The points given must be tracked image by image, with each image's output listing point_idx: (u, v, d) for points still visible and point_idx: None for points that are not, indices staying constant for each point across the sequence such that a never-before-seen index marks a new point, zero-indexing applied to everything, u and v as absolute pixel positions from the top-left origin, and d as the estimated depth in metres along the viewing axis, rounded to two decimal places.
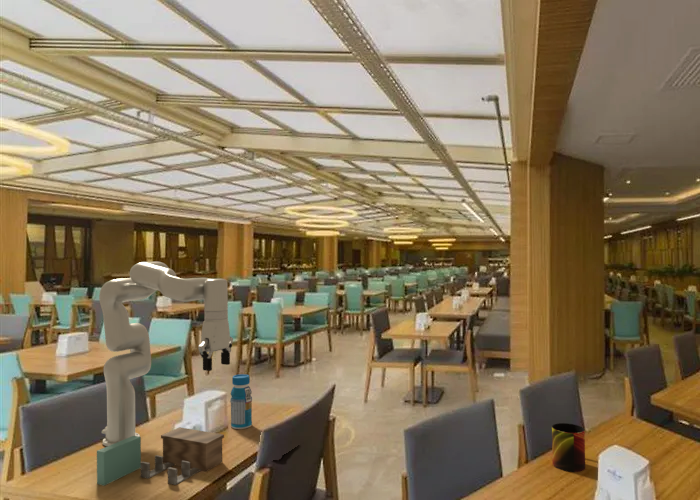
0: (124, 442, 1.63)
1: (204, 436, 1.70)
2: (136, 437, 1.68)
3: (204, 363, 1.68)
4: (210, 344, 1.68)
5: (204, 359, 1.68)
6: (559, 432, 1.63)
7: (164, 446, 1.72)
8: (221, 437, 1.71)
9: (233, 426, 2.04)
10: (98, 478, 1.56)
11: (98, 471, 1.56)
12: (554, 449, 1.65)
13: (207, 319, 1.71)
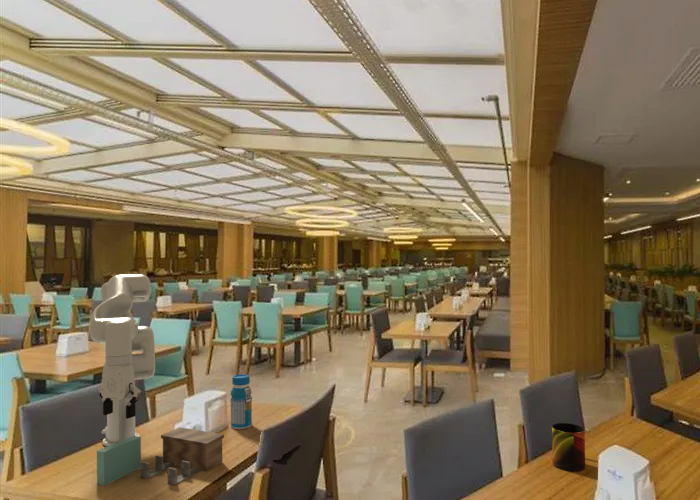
0: (124, 442, 1.63)
1: (204, 436, 1.70)
2: (136, 437, 1.68)
3: (131, 410, 1.59)
4: None
5: (132, 405, 1.59)
6: (559, 432, 1.63)
7: (164, 446, 1.72)
8: (221, 437, 1.71)
9: (233, 426, 2.04)
10: (98, 478, 1.56)
11: (98, 471, 1.56)
12: (554, 449, 1.65)
13: (125, 364, 1.60)
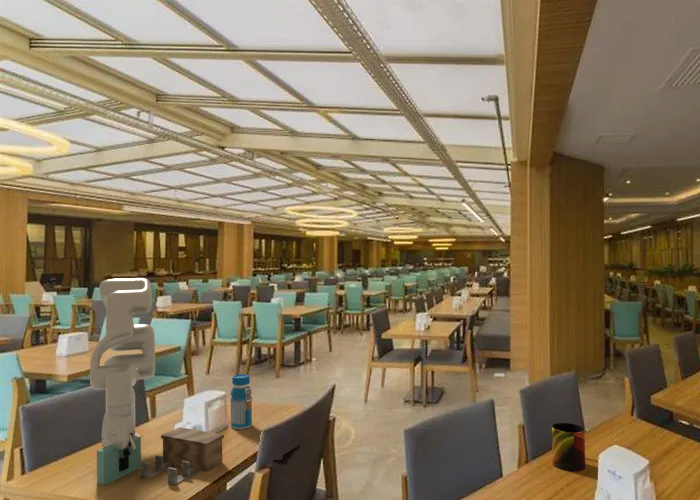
0: None
1: (204, 436, 1.70)
2: (136, 437, 1.68)
3: (125, 462, 1.61)
4: (134, 438, 1.62)
5: (125, 458, 1.61)
6: (559, 432, 1.64)
7: (164, 446, 1.72)
8: (221, 437, 1.71)
9: (233, 426, 2.04)
10: (98, 478, 1.56)
11: (98, 471, 1.56)
12: (554, 449, 1.66)
13: (125, 414, 1.60)
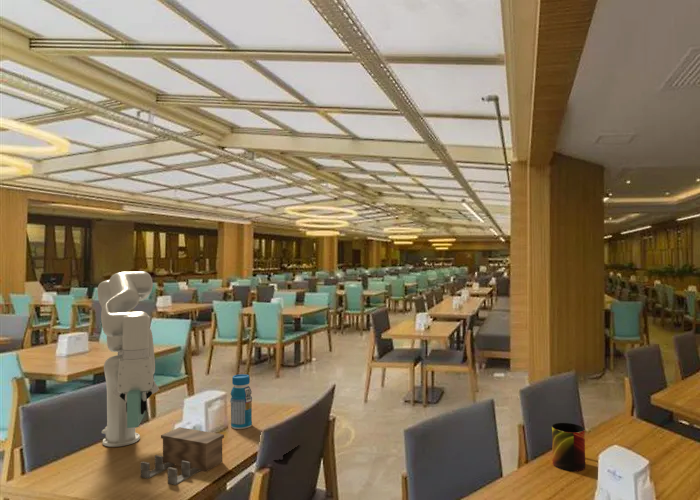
0: None
1: (204, 436, 1.70)
2: None
3: (146, 405, 1.62)
4: (153, 380, 1.64)
5: (146, 401, 1.62)
6: (559, 432, 1.64)
7: (164, 446, 1.72)
8: (221, 437, 1.71)
9: (233, 426, 2.04)
10: (129, 421, 1.55)
11: (129, 414, 1.55)
12: (554, 448, 1.66)
13: (148, 356, 1.62)
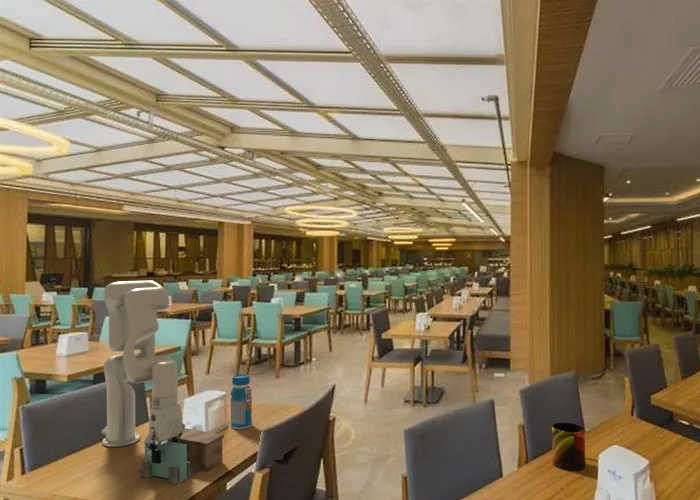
0: None
1: (204, 436, 1.70)
2: None
3: None
4: None
5: None
6: (559, 431, 1.64)
7: None
8: (221, 437, 1.71)
9: (233, 426, 2.04)
10: (181, 474, 1.57)
11: (181, 467, 1.57)
12: (554, 448, 1.66)
13: None
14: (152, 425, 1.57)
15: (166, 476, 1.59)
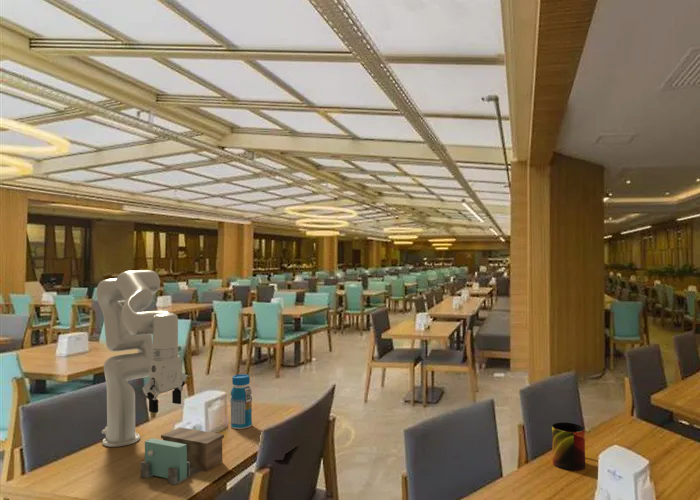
0: (163, 441, 1.62)
1: (204, 436, 1.70)
2: (151, 439, 1.64)
3: None
4: None
5: None
6: (559, 431, 1.64)
7: None
8: (221, 437, 1.71)
9: (233, 426, 2.04)
10: (181, 474, 1.57)
11: (181, 467, 1.57)
12: (554, 448, 1.66)
13: None
14: (152, 375, 1.59)
15: (166, 476, 1.59)
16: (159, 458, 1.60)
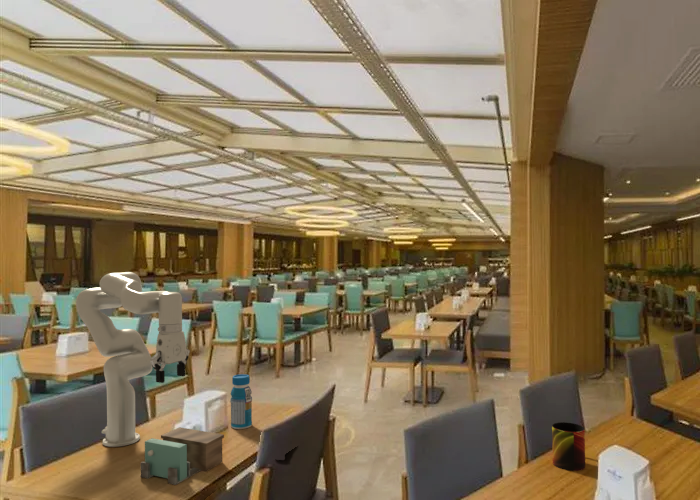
0: (163, 441, 1.62)
1: (204, 436, 1.70)
2: (151, 439, 1.64)
3: None
4: None
5: None
6: (559, 431, 1.64)
7: None
8: (221, 437, 1.71)
9: (233, 426, 2.04)
10: (181, 474, 1.57)
11: (181, 467, 1.57)
12: (554, 448, 1.66)
13: None
14: (158, 348, 1.73)
15: (166, 476, 1.59)
16: (159, 458, 1.60)
